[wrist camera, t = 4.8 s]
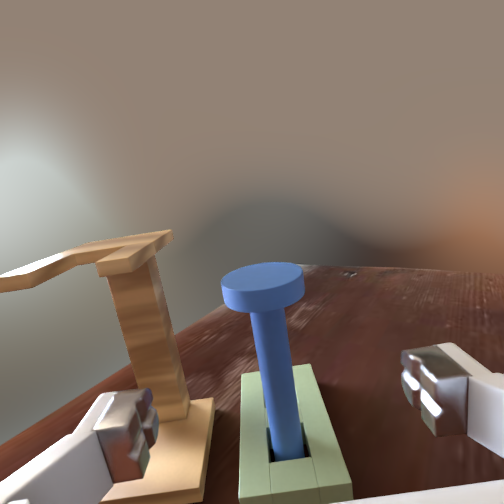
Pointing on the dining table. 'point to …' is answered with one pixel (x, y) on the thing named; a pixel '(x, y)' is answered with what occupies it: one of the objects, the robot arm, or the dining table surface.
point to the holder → (297, 470)
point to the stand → (144, 363)
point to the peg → (272, 343)
